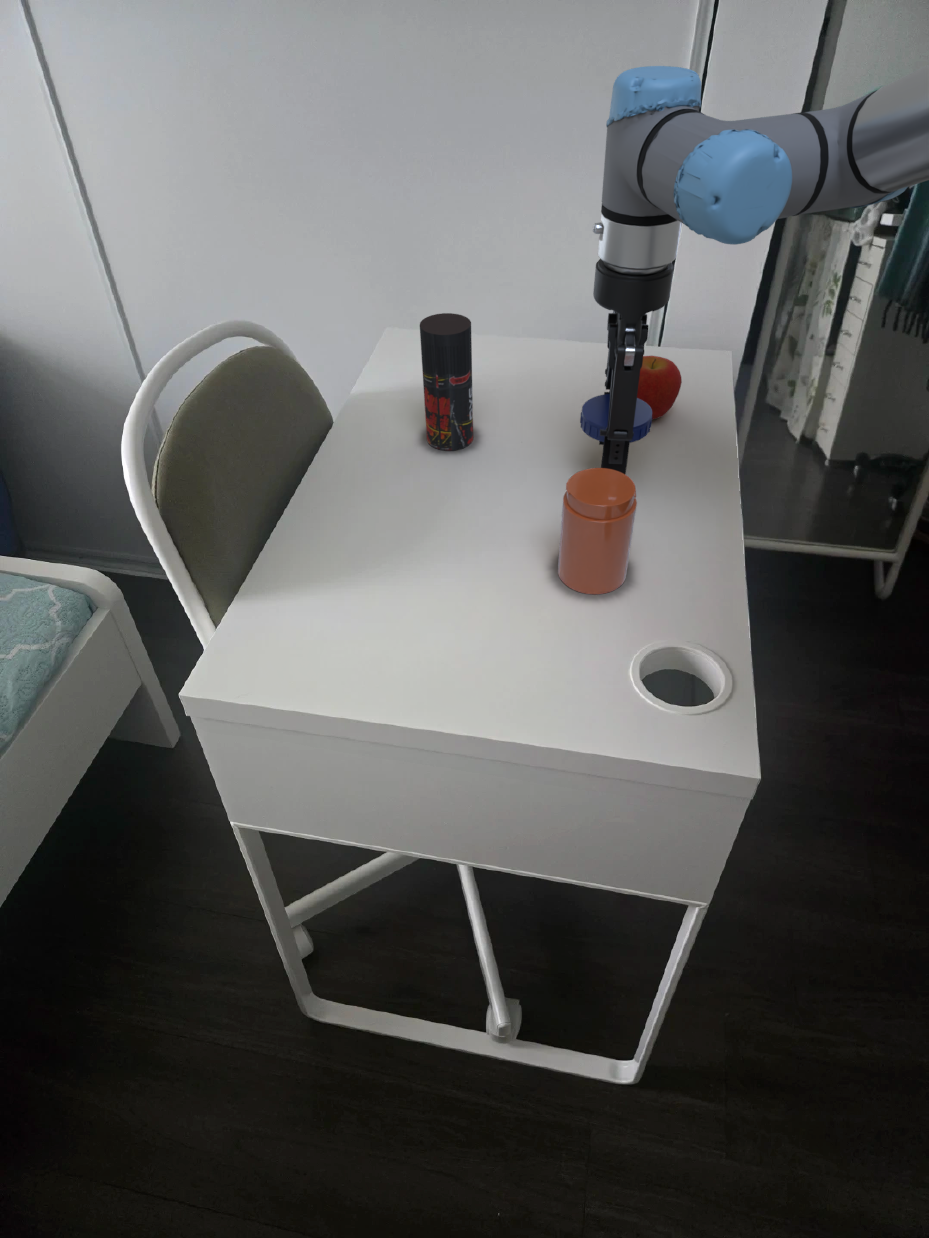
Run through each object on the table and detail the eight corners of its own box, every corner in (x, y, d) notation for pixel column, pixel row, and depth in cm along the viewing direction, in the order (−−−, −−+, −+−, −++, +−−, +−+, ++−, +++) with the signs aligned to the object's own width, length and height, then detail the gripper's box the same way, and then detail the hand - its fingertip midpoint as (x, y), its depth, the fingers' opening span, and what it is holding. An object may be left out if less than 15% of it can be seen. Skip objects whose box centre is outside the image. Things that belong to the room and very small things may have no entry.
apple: (667, 398, 110) (676, 343, 104) (682, 428, 104) (692, 371, 99) (610, 401, 109) (617, 346, 104) (622, 431, 104) (629, 374, 98)
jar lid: (593, 448, 87) (595, 433, 86) (570, 413, 93) (572, 398, 92) (661, 438, 88) (664, 423, 87) (634, 404, 94) (636, 389, 93)
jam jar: (615, 547, 86) (627, 462, 79) (634, 590, 81) (648, 504, 74) (551, 554, 86) (557, 469, 79) (566, 598, 81) (573, 511, 74)
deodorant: (425, 428, 105) (418, 314, 95) (471, 425, 106) (468, 311, 95) (428, 452, 101) (420, 336, 91) (475, 449, 101) (473, 333, 91)
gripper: (595, 224, 86) (579, 416, 102) (596, 302, 71) (577, 513, 87) (667, 225, 85) (640, 419, 101) (683, 304, 71) (648, 516, 86)
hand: (611, 462), depth 94 cm, fingers closed on jar lid, 8 cm apart
